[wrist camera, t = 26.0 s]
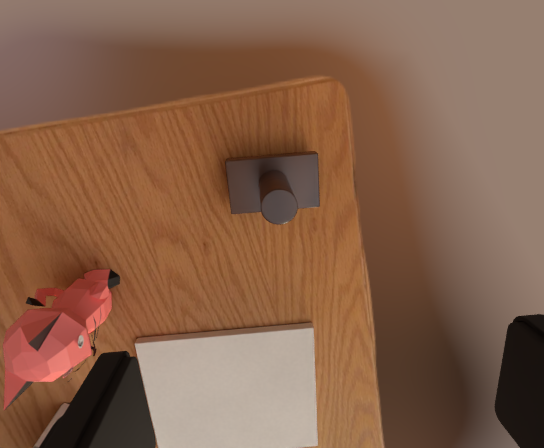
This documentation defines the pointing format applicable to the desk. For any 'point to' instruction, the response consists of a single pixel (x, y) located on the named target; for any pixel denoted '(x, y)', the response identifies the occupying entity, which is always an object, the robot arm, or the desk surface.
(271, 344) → the tile
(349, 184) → the desk surface
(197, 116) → the desk surface
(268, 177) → the stamp
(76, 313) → the cat figurine
